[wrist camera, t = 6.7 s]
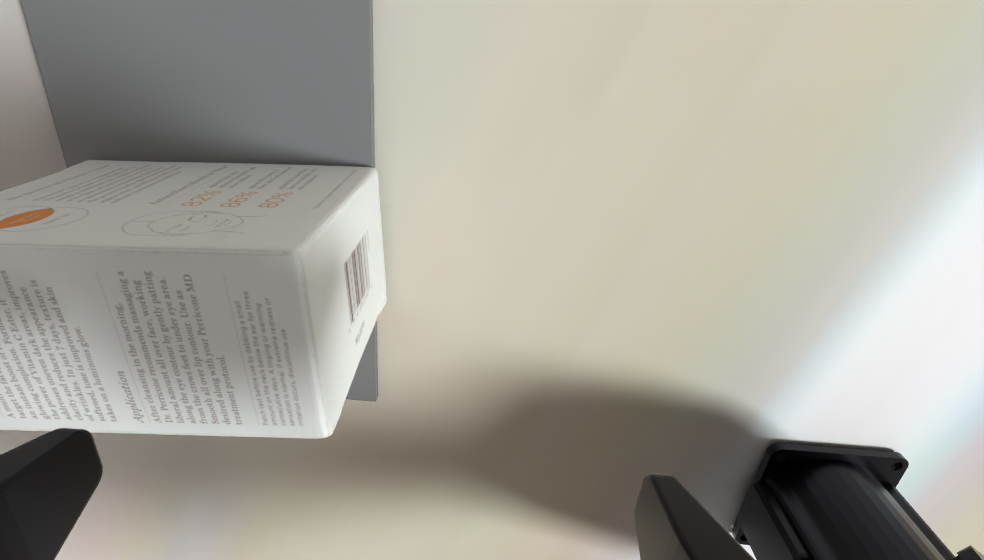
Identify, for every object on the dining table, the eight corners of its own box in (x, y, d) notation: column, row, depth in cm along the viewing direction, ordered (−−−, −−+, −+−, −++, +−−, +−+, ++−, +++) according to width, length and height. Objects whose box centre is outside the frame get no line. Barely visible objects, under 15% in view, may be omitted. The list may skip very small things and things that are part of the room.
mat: (371, -82, 15) (368, -84, 15) (377, 395, 23) (376, 401, 23) (-2, -119, 15) (-15, -123, 15) (132, 376, 23) (126, 381, 23)
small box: (392, 301, 21) (134, 294, 21) (380, 162, 18) (88, 156, 18) (329, 448, 13) (-62, 435, 14) (296, 252, 11) (-182, 240, 11)
